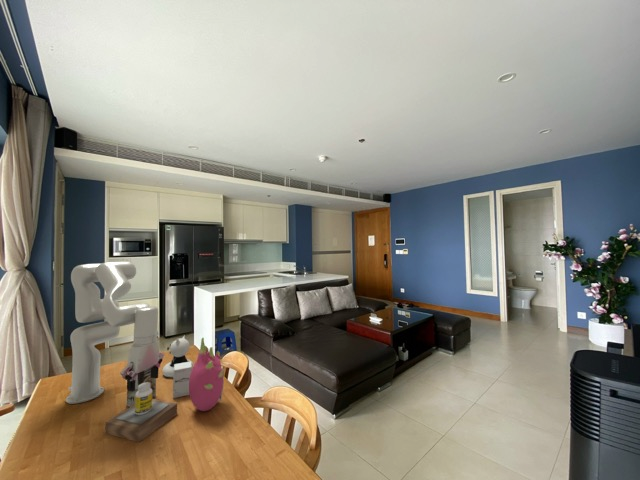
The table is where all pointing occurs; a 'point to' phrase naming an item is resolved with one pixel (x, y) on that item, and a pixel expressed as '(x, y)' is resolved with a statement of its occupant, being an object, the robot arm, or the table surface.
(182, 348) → the decorative figurine
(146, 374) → the coffee box
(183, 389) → the supplement box
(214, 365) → the pink dragon fruit
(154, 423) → the walnut stand
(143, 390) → the supplement bottle
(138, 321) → the robot arm
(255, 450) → the table surface
